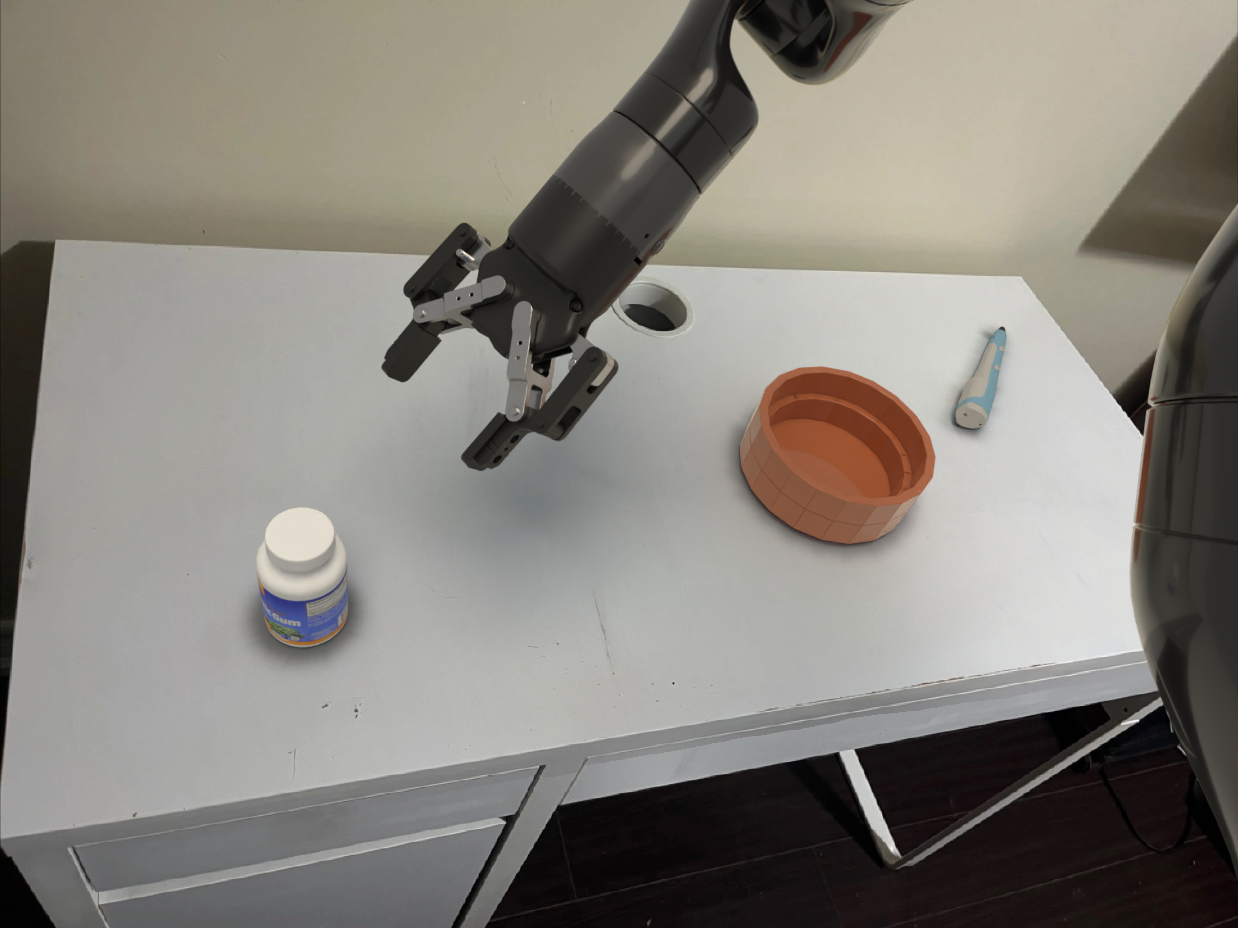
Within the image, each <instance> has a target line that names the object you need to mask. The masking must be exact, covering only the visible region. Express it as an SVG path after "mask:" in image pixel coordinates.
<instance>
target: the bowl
mask: <svg viewBox="0 0 1238 928" xmlns="http://www.w3.org/2000/svg"><path fill="white" fill-rule="evenodd" d="M739 457H740V468H741V470H742V472H743V475H744V477H745V479H746V481H747V483H748V486H749V488H750V490H751V491H752V493H754V494H755V496H756V497H757V499H759V500H760V501H761V503H762V504H763V505H764V506H765V507H766V509H767V510H768V511H769V512H770V513H772V514H773V515H774V516H776V517H777V518H778V519H780V520H781V521H782V522H784V523H785V524H787V525H788V526H789V527H791V528H793V529H795V530H796V531H799V532H802V533H804V534H806V535H808V536H811V537H814V538H816V539H819V540H822V541H826V542H827V541H828V542H834V543H841V544H847V545H853V544H859V543H866V542H873V541H876V540H877V539H879V538H881V537H883V536H885V535H887V534H889V533H891V532H892V531H893V530H894V529H895V528H896V527H897V526H898V524H899V523H900V522H901V520H902V519H903V518H904V516H906V514H907V513H908V511H909V510H910V509H911V508H912V506H913V505H914V504H915V502H916V501H917V500H918V498H920V496H921V495H922V493H923V492H924V490H925V489H926V488H927V486H928V485H929V484H930V482H931V481H932V479H933V477H934V473H935V472H934V471H935V466H936V465H935V463H936V453H935V449H934V445H933V442H932V439H931V436H930V434H929V433H928V431H927V429H926V428H925V426H924V425H923V423H922V422H921V419H920V418H919V417H918V415H917V414H916V413H915V412H914V411H913V410H912V409H911V408H910V407H909V406H908V405H907V404H906V403H905V402H904V401H902V399H901V398H900V397H899V396H898V395H896V394H894V393H893V392H891V391H890V390H889V389H886V388H885V387H884V386H882V385H880V384H879V383H877V382H876V381H874V380H872V379H869V378H868V377H864V376H862V375H860V374H858V373H855V372H852V371H850V370H845V369H839V368H834V367H829V366H821V365H819V366H802V367H797V368H794V369H791V370H789V371H786V372H783V373H781V374H779V375H778V376H777V377H776V378H775V379H773V380H772V381H771V382H770V383H769V384H768V385H767V386H766V387H765V389H764V390H763V393H762V394H761V397H760V399H759V400H758V403H757V405H756V407H755V409H754V411H753V413H752V415H751V418H750V419H749V422H748V424H747V425H746V427H745V431H744V433H743V435H742V438H741V441H740V444H739Z"/></svg>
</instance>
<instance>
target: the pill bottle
mask: <svg viewBox="0 0 1238 928" xmlns="http://www.w3.org/2000/svg"><path fill="white" fill-rule="evenodd" d="M255 570H256V571H255V572H256V577H257V583H258V588H259V595H260V599H261V601H260V602H261V606H262V612H263V618H264V621H265V624H266V627H267V629H268V631H269V633H270V634H271V635H272V636H273V637H274V638H275V639H276V640H277V641H278V642H281V643H282V644H284V645H287V646H290V647H295V648H310V647H316V646H319V645H321V644H324V643H325V642H328V641H330V640H331V639H332V638H334V637H335V636H337V635H338V634H339V632H340V631H341V630H342V629H343V627H344V625H345V624H346V621H347V619H348V615H349V614H348V613H349V592H348V591H349V590H348V585H349V584H348V555H347V550H346V547H345V544H344V542H343V541H342V538H340V536H338V534H337V533H336V531H335V526H334V524H333V522H332V520H331V519H330V517H328V516H327V515H326V514H325V513H323V512H322V511H320V510H317V509H315V508H312V507H301V506H300V507H293V508H288V509H286V510H283V511H282V512H280V513H278V514H277V515H275V516H274V517H273V518H272V519H271V520H270V521H269V523H268V524H267V526H266V528H265V531H264V540H263V541H262V542H261V544H260V546H259V548H258V550H257V553H256V557H255Z"/></svg>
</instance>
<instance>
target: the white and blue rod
mask: <svg viewBox="0 0 1238 928" xmlns="http://www.w3.org/2000/svg"><path fill="white" fill-rule="evenodd" d="M1006 331H1007V330H1006V327H1005V326H1000V327H999V328H997V329H996V330H995V332H993V334H992V335H991V337H990V339H989V341H988V343H987V346H986V348H985V351H984V353H983V354H982V357H981V360H980V362H979V365H978V367H977V369H976V371H975V372H974V374H973V376H972V378H970V379H969V380H968V381H966V383H964V386H963V389H962V391H961V394H960V397H959V400H958V403H957V405H956V408H955V422H956V424H958V425H959V426H960V427H963V428H966V429H974V430H975V429H979V428H982V427H984V426H985V425H986V424H987V422H988V420H989V417H990V414H991V411H992V407H993V405H994V401H995V398H996V393H997V387H998V381H999V377H1000V376H999V375H1000V371H1001V366H1002V362H1003V357H1004V353H1005V352H1006V344H1007V336H1008V335H1007V332H1006Z"/></svg>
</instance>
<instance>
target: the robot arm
mask: <svg viewBox="0 0 1238 928" xmlns="http://www.w3.org/2000/svg"><path fill="white" fill-rule="evenodd" d="M913 1H914V0H689V1H688V3H687V5H686V7H685V9H684V10H683V13H682V14H681V17H680V18H679V19H678V21H677V24H676V25H675V28H674V29H673V31H672V32H671V34H670V36H669V37H668V39H667V40H666V42H665V44H664V45H663V47H662V48H661V50H660V51H659V52H658V53H657V55H656V56H655V57H654V59H653V60H652V61H651V62H650V64H649V65H648V66H647V67H646V69H645V70H644V71H643V73H642V74H641V75H640V76H639V77H638V79H636V81H635V82H634V84H633V85H632V86H631V87H630V88H629V89H628V90H627V91H626V93H625V94H624V95H623V97H622V98H621V99H620V100H619V101H618V103H616V105H615V106H614V107H613V108H612V111H610V112H609V113H608V114H607V115H606V116H605V117H604V118H603V119H602V120H601V122H599V123H598V124H597V125H596V126H595V127H594V128H592V130H590V131H589V132H588V133H587V134H586V135H585V136H584V137H583V138H582V139H581V140H580V141H579V143H577V144H576V145H575V147H574V149H572V151H571V152H570V153H569V154H568V155H567V157H566V158H565V159H564V160H563V162H561V164H560V165H559V166H558V167H557V169H556V170H555V171H554V172H553V173H552V175H551V176H550V177H549V179H548V180H547V181H546V182H545V183H544V184H543V185H542V187H541V188H540V189H539V190H538V192H537V193H536V194H535V195H534V196H533V198H532V199H531V200H530V201H529V202H528V203H527V205H526V206H525V207H524V208H523V209H522V210H521V212H520V213H519V214H518V216H516V217H515V219H514V220H513V221H512V223H511V224H510V225H509V227H508V229H507V237H506V239H505V241H504V242H503V243H502V244H501V245H499V246H498V247H496V248H494V249H493V248H492V243H491V241H490V239H488V238H487V237H486V236H484V235H483V234H482V233H480V232H479V231H478V230H477V229H475V228H474V227H473V226H472V225H471V224H469V223H467V222H461V223H459V224H458V225H457V226H456V227H455V228H454V229H453V230H452V231H451V232H450V234H449V235H448V236H447V237H446V238H445V239H444V240H443V241H442V242H441V243H440V245H438V247H437V248H436V249H435V250H434V251H433V252H432V253H431V254H430V255H429V257H427V259H426V260H425V261H424V262H423V263H422V264H421V265H420V267H419V268H418V269H416V271H415V272H414V274H412V275H411V276H410V278H409V279H408V280H407V281H406V282H405V283H404V285H403V288H402V289H403V290H402V291H403V295H404V296H405V297H406V298H408V299H409V301H410V304H411V306H412V309H413V312H412V318H411V320H410V322H409V323H408V324H407V326H405V328H404V329H403V330H402V331H401V332H400V334H399V335H398V337H397V338H396V339H395V340H394V341H393V343H392V344H391V345H390V346H389V348H387V350H386V352H385V355H384V357H383V359H384V361H383V362H382V364H381V367H380V368H381V371H383V373H384V374H385V375H386V376H387V377H388V378H390V379H392V380H395V381H397V382H399V383H406V382H408V381H409V380H411V378H412V377H413V376H414V375H415V373H417V371H418V370H419V369H420V368H421V366H422V365H423V364H424V363H425V362H426V360H427V359H428V358H429V357H430V355H431V354H432V353H433V352H434V351H435V350H436V349H437V347H438V346H439V345H440V343H442V341H443V340H442V339H441V338H440V337H439V335H445V334H448V333H449V334H450V333H453V332H457V331H460V330H463V329H471V330H473V329H474V330H475V331H477V333H479V334H480V335H483V336H485V337H486V338H488V339H489V341H490V343H491V345H492V347H493V349H494V350H495V351H496V352H497V353H498V354H499V355H500V356H501V357H503V358H504V359H506V360H508V362H507V368H506V379H507V380H508V383H509V384H508V391H507V397H506V404H505V405H506V406H505V410H504V411H505V412H504V413H502V412H500V411H498V412H497V413H496V414H495V415H494V416H493V418H492V419H491V420H490V421H489V422H488V423H487V424H486V426H485V427H484V428H483V429H482V430H481V431H480V433H479V434H478V435H477V436H476V437H475V439H474V440H473V441H472V442H471V443H470V444H469V445H468V447H467V448H466V449H465V450H464V451H463V453H462V454H461V456H460V460H461V461H462V462H463V464H465V466H466V467H467V468H468V469H472V470H476V471H478V472H483V471H485V470H487V469H489V470H494V469H495V468H497V467H499V466H500V465H502V463H503V462H504V461H505V460H506V458H508V457H509V456H510V453H512V452H513V450H514V449H515V448H516V447H517V446H518V445H519V444H520V442H521V441H522V440H523V439H524V438H525V437H526V436H527V435H529V434H531V433H536V434H538V435H542V436H544V437H546V438H549V439H550V440H553V441H555V442H562V441H564V440H565V439H566V438H567V437H568V436H569V434H570V433H571V432H572V431H573V429H574V428H575V427H576V425H578V423H579V422H580V421H581V419H582V418H583V416H584V415H585V414H586V413H587V412H588V410H589V409H590V408H591V406H592V405H593V404H594V403H595V401H596V400H597V399H598V398H599V396H600V395H601V394H602V392H603V391H604V390H605V388H607V386H608V385H609V384H610V382H611V381H612V380H613V378H614V377H616V375H617V374H618V371H619V366H620V365H619V363H618V361H617V360H616V359H615V358H614V357H613V356H612V355H611V354H609V353H608V352H606V351H605V350H603V349H602V348H600V347H598V346H595V345H594V344H593V343H592V342H591V341H589V340H588V339H587V336H588V332H589V330H590V328H591V326H592V324H593V323H594V322H595V321H596V320H597V319H598V318H600V317H602V315H604V314H606V312H607V311H608V310H609V309H610V308H611V307H612V306H613V305H614V303H615V302H616V301H617V300H618V299H619V297H620V296H621V295H622V294H623V293H624V292H625V291H626V289H627V288H628V287H629V286H630V285H631V284H632V283H633V281H634V280H635V279H636V278H637V277H638V275H640V273H641V272H642V271H643V270H644V269H645V268H646V267H647V266H648V265H649V263H650V262H651V261H652V259H654V257H655V256H656V255H658V254H659V253H661V251H662V250H663V248H664V247H665V245H666V244H667V242H668V241H669V240H670V239H671V238H672V237H673V235H674V234H675V233H676V232H677V230H678V229H679V228H680V226H681V225H682V223H684V221H685V219H686V217H687V216H688V215H689V213H690V212H691V210H692V208H693V207H694V205H695V204H696V202H697V201H698V200H699V199H700V197H701V196H702V195H703V194H704V193H705V192H706V191H707V190H708V188H710V186H711V185H712V184H713V183H714V181H715V180H717V178H718V177H719V176H720V174H722V172H723V171H724V170H725V169H726V168H727V167H728V165H729V164H730V163H731V162H732V160H734V158H735V157H736V156H737V155H738V154H739V153H740V152H741V150H742V149H743V148H744V147H745V145H746V144H747V143H748V142H749V141H750V140H751V138H752V136H753V135H754V134H755V132H756V130H757V128H758V125H759V121H760V113H759V111H760V110H759V107H758V104H757V102H756V99H755V98H754V95H753V93H752V91H751V89H750V87H749V86H748V84H747V82H746V80H745V79H744V77H743V74H741V71H740V70H739V68H738V65H737V63H736V61H735V58H734V55H733V51H732V47H731V42H732V41H731V39H732V31H733V27H734V26H733V25H734V22H735V21H737V24H738V25H739V26H740V27H741V29H742V30H744V32H745V33H746V35H748V37H750V38H751V39H752V41H753V42H754V43H755V44H756V45H757V46H758V47H759V49H761V51H762V52H763V53H764V54H765V55H766V56H767V57H768V59H770V61H771V62H772V63H773V64H774V66H776V68H777V69H778V70H779V71H780V72H781V73H782V74H784V75H785V76H786V77H787V78H789V79H790V80H792V81H793V82H796V83H798V84H801V85H807V86H822V85H827V84H829V83H832V82H834V81H836V80H838V79H840V78H841V77H842V76H843V75H845V74H846V73H847V72H848V71H849V70H851V69H852V68H853V67H854V66H855V65H856V64H857V63H858V62H859V61H860V60H861V58H863V56H864V55H865V54H866V52H867V51H868V50H869V49H870V48H871V46H872V45H873V43H875V41H876V40H877V38H878V36H879V35H880V34H881V33H882V31H883V29H884V28H885V27H886V25H887V24H888V23H889V21H890V20H891V19H892V18H893V17H894V16H895V15H896V14H897V13H899V11H900V10H902V9H903V8H904V7H906V6H907V5H908V4H909V3H911V2H913ZM476 270H477V277H476V281H475V283H474V284H471V285H467V286H463V287H460V288H457V287H459V285H460V284H461V283H462V282H463V281H464V280H465V279H466V277H467V276H468V275H469V274H470V273H471V272H474V271H476ZM1155 353H1156V354H1155V359H1154V363H1153V369H1152V373H1151V377H1150V385H1149V390H1148V396H1147V404H1148V405H1149V406H1151V407H1149V409H1146V411H1145V412H1146V414H1145V421H1144V430H1143V437H1142V445H1141V452H1140V453H1141V454H1140V461H1139V462H1140V463H1139V469H1138V479H1137V488H1136V495H1135V496H1136V497H1135V501H1134V503H1135V504H1134V511H1133V519H1132V522H1133V524H1134V525H1133V526H1132V528H1131V529H1132V530H1131V541H1130V551H1129V552H1130V555H1129V557H1130V558H1129V571H1128V573H1129V594H1130V595H1129V596H1130V601H1131V606H1132V612H1133V618H1134V623H1135V626H1136V631H1137V634H1138V638H1139V642H1140V645H1141V648H1142V651H1143V654H1144V657H1145V660H1146V664H1147V666H1148V670H1149V672H1150V674H1151V677H1152V679H1153V682H1154V684H1155V686H1156V690H1157V692H1158V694H1159V697H1160V699H1161V702H1162V705H1163V707H1164V709H1165V712H1166V714H1167V716H1168V718H1169V721H1170V724H1171V726H1172V727H1173V730H1174V732H1175V734H1176V736H1177V739H1178V741H1179V743H1180V745H1181V748H1182V750H1183V752H1184V754H1185V756H1186V758H1187V761H1188V764H1189V765H1190V767H1191V769H1192V771H1193V773H1194V775H1195V778H1196V780H1197V782H1198V784H1199V786H1200V788H1201V791H1202V793H1203V795H1204V797H1205V799H1206V802H1207V803H1208V805H1209V807H1210V811H1211V812H1212V814H1213V816H1214V818H1215V820H1216V823H1217V825H1218V828H1219V830H1220V833H1221V836H1222V838H1223V841H1224V843H1225V846H1226V848H1227V851H1228V853H1229V855H1230V859H1231V862H1232V865H1233V869H1234V872H1235V876H1236V880H1237V881H1238V203H1237V204H1236V205H1235V207H1234V208H1233V209H1232V211H1231V212H1230V214H1229V215H1228V216H1227V218H1226V219H1225V221H1224V222H1223V224H1222V225H1221V227H1220V228H1219V229H1218V231H1217V233H1216V234H1215V235H1214V237H1213V239H1212V240H1211V242H1210V243H1209V245H1208V246H1207V247H1206V249H1205V250H1204V252H1203V253H1202V255H1201V257H1200V258H1199V260H1198V261H1197V263H1196V265H1195V266H1194V268H1193V270H1192V271H1191V273H1190V275H1189V276H1188V278H1187V280H1186V281H1185V283H1184V285H1183V287H1182V288H1181V291H1180V292H1179V295H1178V297H1176V300H1175V302H1174V304H1173V307H1172V308H1171V310H1170V312H1169V316H1168V318H1167V320H1166V323H1165V324H1164V327H1163V330H1162V331H1161V336H1160V340H1159V343H1158V347H1157V350H1156V352H1155ZM570 354H572V356H571V359H569V361H568V371H569V372H567V374H565V376H564V378H563V379H562V380H561V381H560V383H559V384H558V385H557V386H556V388H555V389H554V391H553V392H552V393H551V394H550V395H549V397H548V398H547V394H548V393H549V392H550V391H551V390H552V384H553V379H554V371H555V363H556V359H557V358H559V357H563V356H566V355H570Z"/></svg>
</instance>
